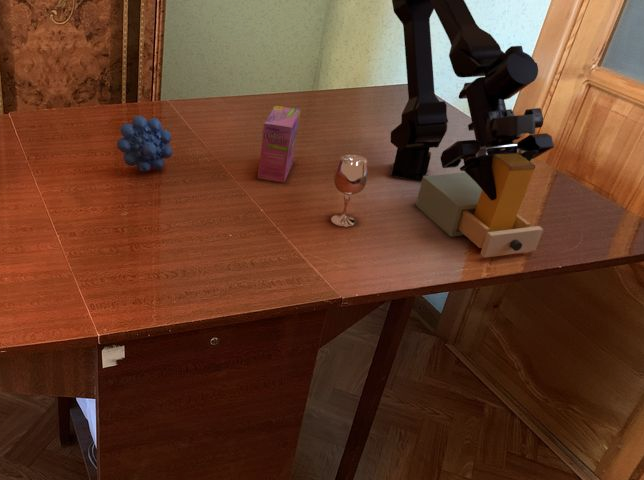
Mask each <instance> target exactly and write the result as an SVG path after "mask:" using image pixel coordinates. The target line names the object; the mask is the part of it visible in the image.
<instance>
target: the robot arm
mask: <svg viewBox="0 0 644 480" xmlns="http://www.w3.org/2000/svg"><path fill="white" fill-rule="evenodd" d="M391 3H392V9H393V13H394V14H395V16H396V17H397V19H398V20H399V21H400V22H401V24H402V27H403V28H402V29H403V41H404V54H405V55H404V56H405V68H406V69H405V70H406V81H407V96H408V100H407V102H406V104H405V106H404V107H403V111H402V113H401V119H400V121H401V123H400V124H399V125H397V126H396V127H395V128H393V130H391V131H390V143H391V144H392V145H393V146H395V147H396V148H397V149H396V153H395V157H394V161H393V164H392V168H391V172H390V176H391V177H394V178H398V179H405V180H411V181H419V182H422V179H423V176H427V175H428V174H427V173H428V169H429V167H430V166H429V165H430V162H431V156H432V152H431V151H430V149H431V148H435V149H436V148H439V146H440V145H441V142H442V140H443V139H444V137H445V135H446V134H447V130H448V123H449V118H448V113H447V110H448V109H447V108H448V107H447V103H446V100H443V101H441V100H439V98H438V97H437V96H436V93H435V78H434V65H433V52H432V51H433V50H432V38H431V36H432V35H431V21H430V19H431V16H432V14H433V12H435V14H436V16H437V17H438V20H439V22H440V24H441V26H442V28H443V30H444V32H445V34H446V37H447V39H448V40H449V42H450V49H449V53H448V58H449V61H450V64H451V67H452V70H453V73H454V74H455V76H456V77H457V78H475V79H474V80H473V81H471V82H470V81H469V82H464V84H463V87H462V89H461V90H460V92H459V94H458V99H459V100H463V99H464V100H465V99H466V100H467V101H466V102H467V106H468V110H469V114H470V119H471V122H470V123H469V124H468V125H467V129H468V131H470V132H472V131H473V133H474V139H467V140H457V141H456V142H454V143H453V144H452V145H450V146H449V147H446V148H445V149H444V150H443V151H442V152H441V156H440V163H441V168H443V169H450V168H457V167H459V165H460V164H461V162H462V160H463V165H462V166H460V167H459V170H460V171H459V172H466V173H467V174H468V175H469V176H470V177H471V178H472V179H473V180H474V181H475V182H476V183H477V184H478V185H479V186H480V188H481V189H482V190H483V191H484V192H485V194H486V195H487V196H488V197H489V198H490V199H491V200H495V199H496V198H497V195H496V187H495V182H494V178H493V173H492V168H491V165H492V161H493V156H494V155H496V154H515V153H518V154H520V155H521V156H523V157H524V158H526V159H527V160H528V161H530V162H531V161H532V160H534V159H536V158H537V157H539V156H542V155H543V154H545V153H546V152H548V151H550V150H552V149H554V148H555V145H554V141H553V137H552V135H550V133H549V134H548V133H544V132H543V133H536V129H540V128H542V127H543V125H544V115H543V112H542V109H541V108H540V107H536V108H527V109H525V111H524V113H523V114H520V115H518V114H517V115H515V112H514V111H513V108H509V109H507V105H506V102H505V100H509V99H511V98H512V97H513V96H515V95H516V94H518V93H519V92H521V91H522V90H524V89H525V88H526V87H528V86H529V85H530V84H532V83H533V82H535V80H536V79H537V78H538V74H539V66H538V63H537V61H535V59H534V58H533V57H532V56H531V55H530V54H529V53H526V52H524V49H523V46H522V45H511V46H509V47H508V48H507V49H506V50H505V51H503V50H502V48H501V46H500V44H499V43H498V42H497V40H496V39H495V38H494V36H493V35H492V34H491V33H489V32H487V31H485V30H483V28H481V27H480V26H479V25H478V24H477V23H476V20H475V18H474V17H473V14H472V13H471V11H470V9H469V7H468V5H467V3H466V2H465V0H391ZM523 134H529V135H527V136H526V137H523V138H522V135H523ZM520 138H522V139H521V140H519V139H520ZM516 140H519V141H518V142H514V141H516Z"/></svg>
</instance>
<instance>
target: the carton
mask: <svg viewBox="0 0 644 480" xmlns="http://www.w3.org/2000/svg"><path fill="white" fill-rule="evenodd" d="M491 168H492V173H493V178H494V182H495V187H496V195H497V198H496V199H495V200H491V199H490V198H489V197H488V196H487V195H486V194H485V192H484V191H483V190H482V192H481V195H480V198H479V201H478V204H477V207H476V210H475V213H474V216H475V217H476V218H477V219H478V220H480V221H481V222H482V223H483V224H485V225H486V226H487V227H488V228H489V232H494V231H502V230H510V229H512V227H513V224H514V222H515V219H516V217H517V214H518V215H519V211H520V209H521V206H522V204H523V201H524V198H525V195H526V193H527V190H528V188H529V185H530V183H531V179H532V177H533V174H534V172H535V169H536V164H534V163H532V161H531V160H530V161H528V160H527V159H526V158H524V157H523V156H521V155H520V154H518V153H515V154H496V155H494V156H493V161H492V165H491Z"/></svg>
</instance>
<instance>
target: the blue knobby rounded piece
mask: <svg viewBox="0 0 644 480" xmlns="http://www.w3.org/2000/svg"><path fill="white" fill-rule="evenodd" d="M162 126H163V125H162V122H161V121H160V120H159V119H158V118H156V117H151V118H149V119H148V120H147V118H145V117H144V116H143V115H139V114H137V115H136V116H134V117H133V118H132V122H131V123H127V122H125V123H122V125H121V126H120V130H119V131H120V134H121V136H122V137H120V138H118V140H117V142H116V147H117V149H118V150H119V151H120V152H121V153H124V154H123V158H122V159H123V161H124V163H125V164H126V165H127V166H129V167H134V166H136V168H137V170H138V171H139V172H140V173H149V172H150V170H151V168H153V167H154V168H153V169H154V170H157V171H158V170H162V169H163V168H164V166H165V161H164V159H169V158H171V157H172V155H173V149H172V147H171V145H170V142H172V134H171V131H169V130H168V129H165V128H163V127H162ZM149 168H150V169H149ZM140 169H142V170H140ZM147 169H148V170H147Z"/></svg>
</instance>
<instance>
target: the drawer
mask: <svg viewBox="0 0 644 480" xmlns="http://www.w3.org/2000/svg"><path fill="white" fill-rule="evenodd" d="M475 210H476V208H475V209H466V210H462V212H461V215H460V219H459V222H458V226H457V229H458V230H459V231H461V232H462V233H463V234H464V235H463V236H465V237H466V238H467V239H469V241H471V242H472V243H473V244H474V245H475V246H477V247H478V248H479V249H481V251H480V256H482V257H483V258H490V257H491V258H492V257H498V256H499V257H500V256H505V255H512V254H513V255H514V254H521V253H529V252H536V251H537V248H538V245H539V243H540V240H541V238H542V234H543V232H544V228H543V227H542V226H540V225H536V226H531V223H530V222H529V221H528V220H527V219H525V218H524V217H523V216H521V215H520V214H519V213H518V214H517V217H516V219H515V222H514V224H513V227H512V229H510V230H502V231H494V232H489V228H488V227H487V226H486V225H485V224H483V223H482V222H481V221H480V220H478V219H477V218H476V217H475V216H474V213H475Z"/></svg>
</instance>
